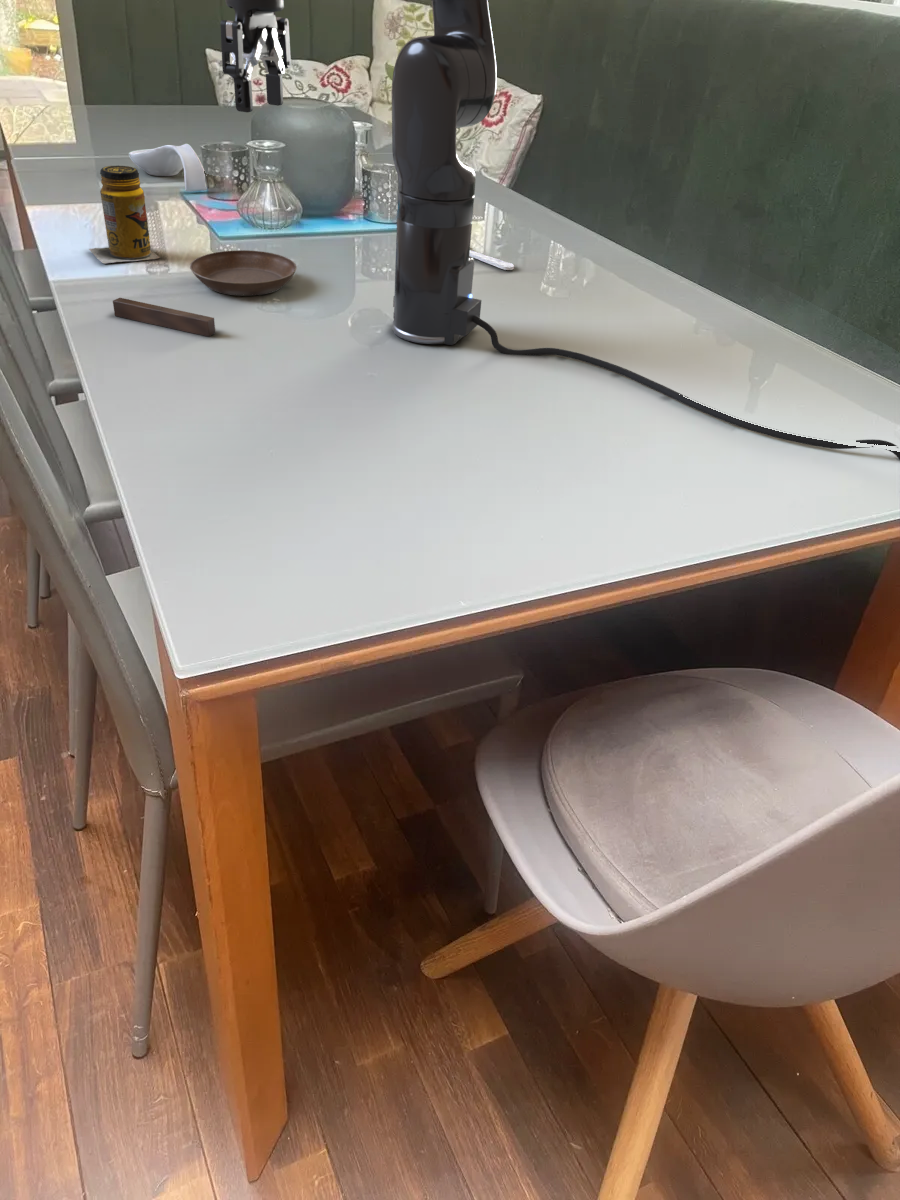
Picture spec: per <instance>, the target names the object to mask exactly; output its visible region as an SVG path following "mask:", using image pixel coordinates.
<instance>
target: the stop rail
mask: <svg viewBox="0 0 900 1200" xmlns="http://www.w3.org/2000/svg"><path fill="white" fill-rule="evenodd" d="M112 306H113V313H114V316H115V317H118V318H122V319H127V320H132V321H137V322H140V323H145V324H150V325H154V326H159V327H164V328H168V329H173V330H177V331H182V332H186V333H189V334H194V335H198V336H205V337H211V336H213V335H215V334H216V325H215V323H216V322H215V317H212V316H208V315H203V314H198V313H193V312H189V311H184V310H180V309H175V308H171V307H166V306H161V305H156V304H151V303H147V302H143V301H137V300H133V299H129V298H124V297H118V298H116V299H113V300H112Z"/></svg>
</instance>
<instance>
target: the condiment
mask: <svg viewBox="0 0 900 1200" xmlns="http://www.w3.org/2000/svg"><path fill="white" fill-rule="evenodd" d="M99 174H100V177H101V180H100V183H101V186H102V187H101V188H100V191H99V192H100V200H101V207H102V211H103V212H102V214H103V218H104V227H105V231H106V237H107V239H106V240H107V245H108V246H107V247H100V248H99V247H92V248H88V250H89V251H90V253H91V254H92V255H94V257H95V258H96V259H97V260H98V261H100V262H101V264H111V263H112V264H113V263H122V262H137V261H149V260H156V259H160V258H161V256H159V255H157V254H156V253H155V252H153V251H152V250H151V241H150V231H149V222H148V215H147V208H146V200H145V199H146V196H145V192H144V190H143V189H142V187H141V181H140V172H139V170H138V169H137V168H136V167H133V166H128V165H119V164H118V165H108V166H104V167H102V168H101V169H100V171H99Z"/></svg>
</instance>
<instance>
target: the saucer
mask: <svg viewBox="0 0 900 1200" xmlns="http://www.w3.org/2000/svg"><path fill="white" fill-rule="evenodd" d="M189 269H190V270H191V272H192V273H193V274H194V276H195V277H196V278H197V280H199V281H200V283H202V284H203V285H204V286H205V287H207V288H209V289H210V290H212V291H214V292H215V293H216V292H217V293H219V294H222V295H228V296H235V297H236V296H238V297H239V296H240V297H253V296H262V295H268V294H272V293H274V292H277V291H279V290H280V289H282V288H283V287H284V286H285V285H286V284H288V282H290V280H291V279H292V278H293V277H294V275H295V273H296V271H297V269H298V268H297V264H296V262H295V261H293V260H292V259H291V258H288V257H286V256H284V255H280V254H277V253H273V252H269V251H259V250H248V249H247V250H246V249H245V250H243V249H239V250H237V249H236V250H223V251H217V252H212V253H207V254H205V255H200V256H199V257H197V258H195V259H193V260H192V261H191V262H190V264H189Z"/></svg>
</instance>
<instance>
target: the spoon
mask: <svg viewBox="0 0 900 1200" xmlns="http://www.w3.org/2000/svg"><path fill="white" fill-rule="evenodd" d="M469 257H471V258H473V259H476V260H479V261H481V262H484V263H486V264H488V265H491V266H494V267H496V268H498V269H501V270H504V271H506V270H507V271H512V270H514V269H515V264H513V263H511V262H509V261H505V260H502V259H499V258H496V257H492V256H490V255H488V254H483V253H481V252H479V251H475V250H471V249H470V254H469Z"/></svg>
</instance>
